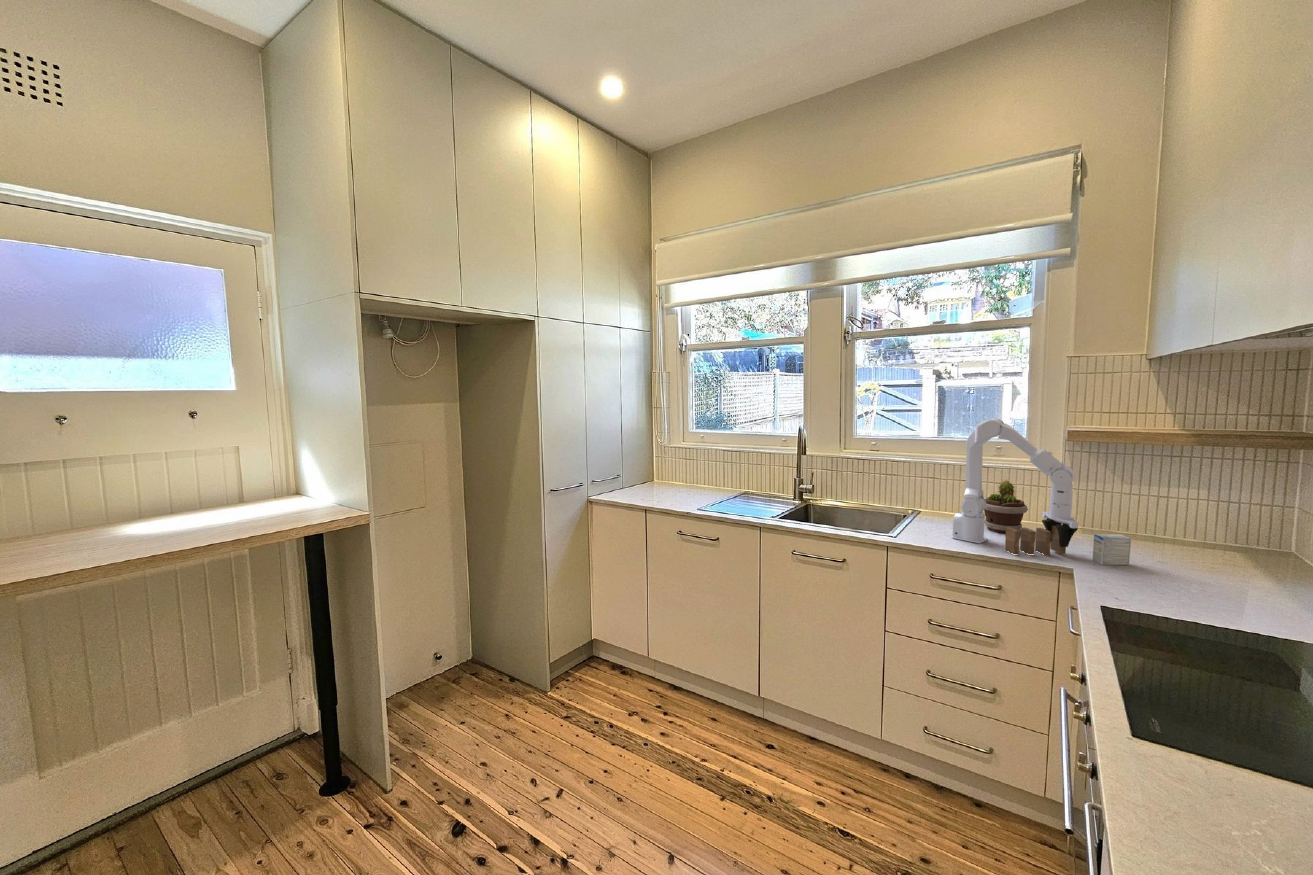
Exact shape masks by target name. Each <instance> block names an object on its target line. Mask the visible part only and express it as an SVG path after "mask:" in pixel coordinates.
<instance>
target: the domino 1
mask: <svg viewBox="0 0 1313 875" xmlns="http://www.w3.org/2000/svg"><path fill="white" fill-rule="evenodd" d="M1020 540H1021V530H1019V531H1018V530H1016V529H1014V528H1011V527H1006V533H1005V540H1004V541H1005V543H1004V551H1005V550H1006V551H1009V552H1010V553H1013V554H1019V555H1020ZM1006 551H1005V552H1006ZM1010 553H1009V554H1010Z"/></svg>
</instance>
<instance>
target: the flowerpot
mask: <svg viewBox="0 0 1313 875" xmlns="http://www.w3.org/2000/svg"><path fill="white" fill-rule="evenodd" d="M997 489H999V490H997V493H996V492H994V493H990V496H989V497H988V496H987V497H986V498H984V499H985V501H986V508H985V509H984V510H983V513H984V514H985V522H984V526H986V528H987V529H988V530H989V531H992V532H995V533H1002V534H1006V527H1011V528H1014V529H1016V530H1018V531H1021V528H1023V524H1022V521H1023V519H1024V518H1023V517H1024V514H1026V513H1027V512H1028V511H1029V508H1028V505H1026V504H1025V501H1024V500H1021V499H1017V498H1016V497H1017V496H1015V495H1016V486H1015V484H1013V482H1011V481H1010V480H1009V479H1008V478H1007V477H1006V480H1005V479H1003V480H1002V481H1001V483H999V485H998V486H997Z"/></svg>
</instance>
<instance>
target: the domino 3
mask: <svg viewBox="0 0 1313 875" xmlns="http://www.w3.org/2000/svg"><path fill="white" fill-rule="evenodd" d="M1035 528H1036V529H1035V549H1034V552H1036V551H1038V552H1040V553H1043V554H1044V555H1051V549H1050V546H1051V532H1050V531H1048V530H1046V528H1043V527H1035ZM1038 552H1037V553H1038ZM1040 553H1039V554H1040ZM1044 555H1043V556H1044Z"/></svg>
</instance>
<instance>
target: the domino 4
mask: <svg viewBox="0 0 1313 875" xmlns="http://www.w3.org/2000/svg"><path fill="white" fill-rule="evenodd" d="M1050 551H1054V552H1056V553H1058V554H1060V555H1061V554H1062V555H1063V554H1065V555H1066V554H1067V553H1066V551H1067V547H1061V546H1060V545H1059V534H1058V530H1057V528H1056V526H1052V530H1051V543H1050Z"/></svg>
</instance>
